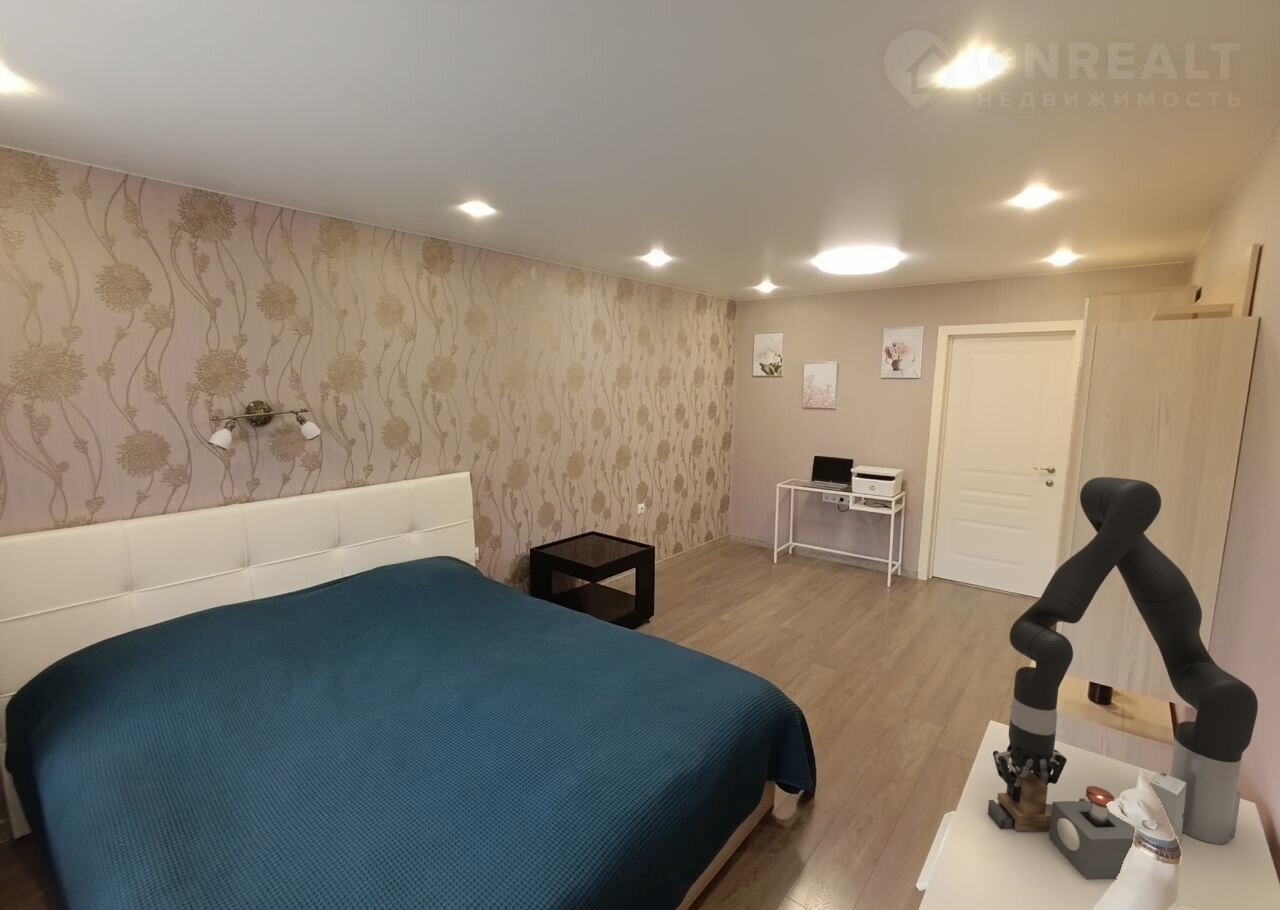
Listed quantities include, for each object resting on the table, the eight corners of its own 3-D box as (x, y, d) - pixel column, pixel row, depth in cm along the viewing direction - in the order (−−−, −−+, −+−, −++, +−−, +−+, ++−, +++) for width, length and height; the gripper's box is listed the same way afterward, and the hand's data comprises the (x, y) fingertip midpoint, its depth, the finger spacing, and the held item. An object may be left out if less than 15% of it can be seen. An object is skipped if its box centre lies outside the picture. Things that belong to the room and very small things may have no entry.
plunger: (1097, 820, 106) (1101, 785, 105) (1116, 837, 102) (1120, 801, 101) (1077, 820, 106) (1080, 786, 105) (1094, 837, 102) (1098, 801, 101)
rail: (1082, 812, 116) (1084, 798, 115) (1098, 827, 112) (1100, 813, 111) (987, 813, 115) (988, 799, 115) (1000, 829, 111) (1001, 814, 111)
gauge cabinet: (1099, 837, 109) (1103, 800, 108) (1140, 878, 100) (1145, 838, 99) (1046, 838, 109) (1050, 801, 108) (1084, 879, 100) (1088, 839, 99)
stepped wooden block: (1029, 807, 117) (1033, 765, 115) (1052, 831, 110) (1056, 788, 109) (996, 807, 117) (1000, 766, 115) (1017, 832, 110) (1021, 788, 109)
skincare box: (1172, 854, 105) (1180, 796, 104) (1141, 838, 109) (1148, 782, 107) (1182, 839, 109) (1189, 783, 107) (1152, 824, 112) (1158, 769, 111)
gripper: (1053, 710, 115) (1046, 786, 117) (985, 711, 114) (979, 787, 116) (1083, 733, 107) (1074, 813, 109) (1010, 733, 107) (1002, 814, 109)
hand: (1025, 799), depth 113 cm, fingers closed on stepped wooden block, 4 cm apart
